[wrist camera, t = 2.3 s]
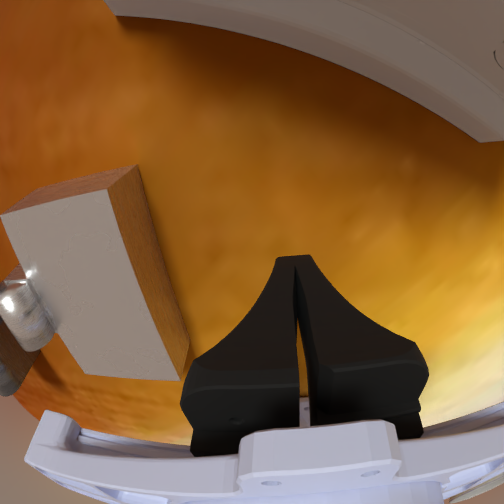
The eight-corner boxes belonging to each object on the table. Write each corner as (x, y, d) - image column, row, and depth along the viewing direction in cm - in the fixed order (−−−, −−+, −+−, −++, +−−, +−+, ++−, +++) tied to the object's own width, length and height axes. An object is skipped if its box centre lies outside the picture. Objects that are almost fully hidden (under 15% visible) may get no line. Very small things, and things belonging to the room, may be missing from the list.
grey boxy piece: (190, 338, 17) (174, 407, 13) (67, 335, 18) (39, 387, 14) (138, 163, 12) (83, 208, 8) (2, 199, 13) (-52, 241, 9)
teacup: (477, 454, 32) (487, 492, 25) (427, 468, 32) (435, 512, 25) (530, 406, 24) (548, 451, 18) (482, 422, 24) (499, 477, 18)
